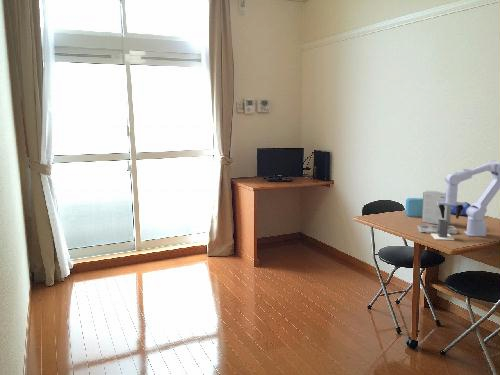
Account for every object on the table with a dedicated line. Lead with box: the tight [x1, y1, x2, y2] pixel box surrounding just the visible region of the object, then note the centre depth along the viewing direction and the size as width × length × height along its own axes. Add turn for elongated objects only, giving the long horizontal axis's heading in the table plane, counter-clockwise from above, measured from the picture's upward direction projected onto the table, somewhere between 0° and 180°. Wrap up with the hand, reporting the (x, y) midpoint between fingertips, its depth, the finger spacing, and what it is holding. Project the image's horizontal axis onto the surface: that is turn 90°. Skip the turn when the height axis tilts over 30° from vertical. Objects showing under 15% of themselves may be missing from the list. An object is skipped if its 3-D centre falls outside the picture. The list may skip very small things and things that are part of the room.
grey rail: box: [417, 224, 458, 235], centre depth 245 cm, size 20×8×3 cm, turn 80°
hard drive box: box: [421, 190, 452, 225], centre depth 261 cm, size 16×8×20 cm, turn 47°
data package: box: [405, 197, 423, 218], centre depth 280 cm, size 12×4×12 cm, turn 90°
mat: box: [430, 233, 455, 241], centre depth 233 cm, size 10×10×1 cm
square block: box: [437, 220, 449, 237], centre depth 233 cm, size 4×4×9 cm
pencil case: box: [451, 201, 472, 217], centre depth 284 cm, size 22×9×10 cm, turn 47°
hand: (449, 218), depth 237 cm, fingers open, 7 cm apart
